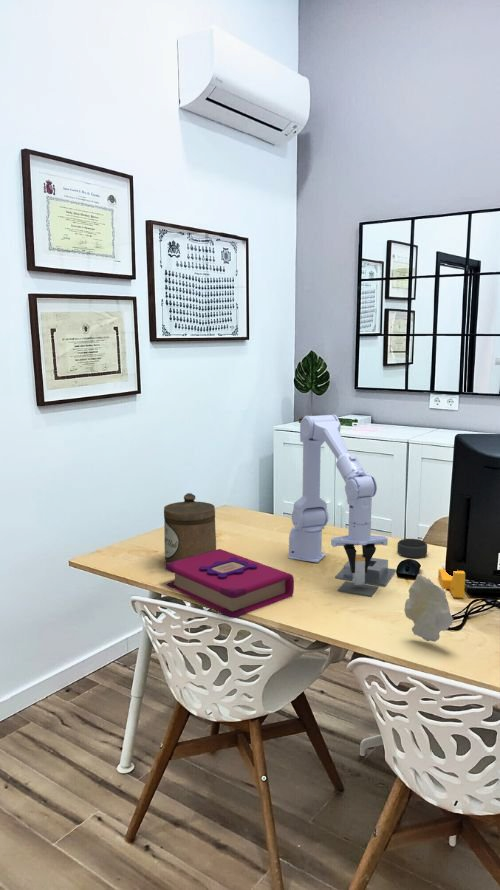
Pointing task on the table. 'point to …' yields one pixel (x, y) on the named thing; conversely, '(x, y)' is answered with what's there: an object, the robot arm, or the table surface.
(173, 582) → the book
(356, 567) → the orange and grey block
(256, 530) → the table surface
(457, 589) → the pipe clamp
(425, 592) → the stone tool
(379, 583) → the block
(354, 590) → the mat
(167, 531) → the wooden container
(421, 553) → the smart speaker
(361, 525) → the robot arm
